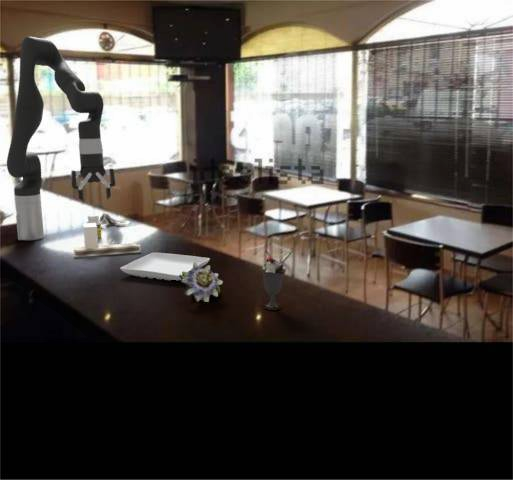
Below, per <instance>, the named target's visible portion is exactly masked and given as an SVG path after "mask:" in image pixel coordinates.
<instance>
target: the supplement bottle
mask: <svg viewBox="0 0 513 480" xmlns="http://www.w3.org/2000/svg"><path fill="white" fill-rule="evenodd" d="M98 220H100V217H99V215H98V214H89V215H87V221H86V222H85V223H86V224H88V223H96V226H97V230H98V240H100V239H102V229H101V222H100V221H98Z"/></svg>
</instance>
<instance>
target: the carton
mask: <svg viewBox="0 0 513 480" xmlns="http://www.w3.org/2000/svg"><path fill="white" fill-rule="evenodd" d="M82 225H83V237H84V247H85V249H89V248H99V246H100V245H99V239H98V230H97V226H96V223H88V224H85V223H83V224H82Z"/></svg>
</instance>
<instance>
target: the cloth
mask: <svg viewBox="0 0 513 480" xmlns="http://www.w3.org/2000/svg"><path fill="white" fill-rule="evenodd" d="M98 221H100V222H101V228H102V229H101V230H107V229H106V227H107V228H108V227H110V226H113V225H114V227H120V226H124V228H125V227H126V226H127V227H126V228H128V226H129V227H130V224H131V222H130V221H129V220H117V219H114V218H113V217H112V216H111V215H110V214H109V213H108V212H107V211H104V212H103V213H102V214H101V216H100V217H99V219H98ZM84 224H86V222H85V223H84Z"/></svg>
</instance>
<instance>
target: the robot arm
mask: <svg viewBox="0 0 513 480" xmlns="http://www.w3.org/2000/svg"><path fill="white" fill-rule="evenodd" d="M36 66H40V67H41V66H43V67H49V68H50V69H51V70H53V71H54V81H55V83H56V86H57V87H58V88H59V89H60V90H61V91H62V92H63V93H64V95H66V99H67V101H68V103H69V105H70V107H71V109H72V110H73V111H74V112H75V113H79V114H88V115H87V119H85V120H82V121H79V122H78V123H77V128H78V138H79V139H78V141H79V142H78V149H79V150H78V151H79V160H80V161H79V163H80V170H71V177H70V178H71V188H72V189H74V190H77V195H78V196H77V197H78V199H79V200H80V201H81V202H84V201H85V200H84V191H83V188H84V186H85V185H87V183H94V182H95V183H100V182H101V183H102V184H103V185H104V188H105V190H104V191H105V199H106V200H110V198H111V197H112V195H111V188H112V187H115V186H116V179H115V172H114V168H108V169H107V168H105V165H104V154H103V153H104V149H103V144H102V143H103V142H102V137H101V123H102V122H101V121H102V117H103V110H104V99H103V97H102V95H101V94H100V93H99V92H97V91H91V90H90V91H87V90H86V86H85V84H84V82H83V81H82V80H81V79H80V78H79V77H78V75H77V74H75V72H74V71H73V70H72V69H71V68H70V67H69V65H68V63H67V62H66V60H65V58H64V57H63V55H62V54H61V52H60V51H59V49H58V47H57V46H56V45H55V44H54V42H53V41H51V40H49V39H47V38H39V37H34V36H26V37H24V38H23V40H22V42H21V45H20V55H19V78H18V79H19V81H18V91H17V96H16V97H17V98H16V103H15V111H14V113H15V114H14V121H13V123H14V124H13V129H12V135H11V140H10V144H9V145H10V146H9V148H8V153H7V157H6V170H7V171H8V174H9V175H10V176H11V177H13V178H22V180H21V182H20V183H19V184H18V185H16V186H14V189H13V192H14V201H15V213H16V216H15V219H16V230H17V239H18V241H35V240H36V241H37V240H41V239H44V237H45V231H44V220H43V219H44V218H43V209H42V197H41V188H42V184H43V183H42V163H41V160H40V157H39V156H38V154H37V153H35V152H33V151H28V145H29V143H30V141H31V139H32V138H33V136H34V134H36V132H37V130H38V129H39V127H40V126H41V124H42V120H43V113H44V107H45V105H44V104H45V103H44V100H43V97H42V94H41V92H40V89H39V87H38V85H37V82H36V78H35V71H36V70H35V69H36ZM105 174H107V175H108V176H109V181H110V182H108V181H107V180H106V179H105V178H104V176H105ZM79 175H80V176H81V177H82V179H81V181H80V182H79V184H77V178H78V177H79Z"/></svg>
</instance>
